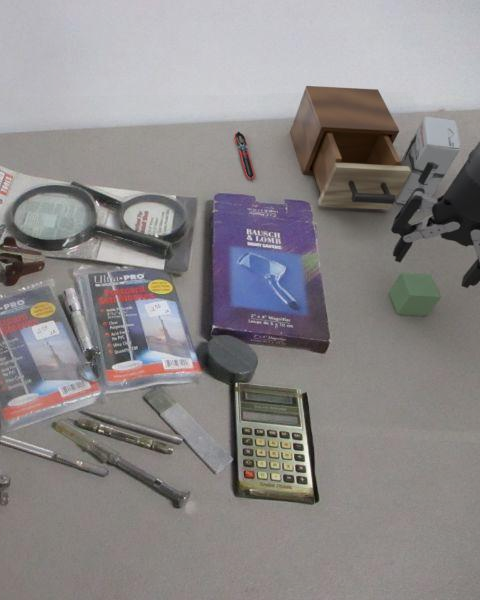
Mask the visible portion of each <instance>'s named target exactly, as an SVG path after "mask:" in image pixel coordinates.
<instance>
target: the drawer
mask: <svg viewBox="0 0 480 600" xmlns="http://www.w3.org/2000/svg"><path fill="white" fill-rule="evenodd" d="M400 163H401V158H400V157H399V155H398V153H397V151H396V148H395V146H394V143H393V144H392V142H391V140H390V138H389V136H388V134H371V133H351V132H332V131H325V132H324V134H323V137H322V139H321V142H320V144H319V147H318V149H317V152H316V154H315V157H314V159H313V162H312V164H311V166H312V169H313V172H314V175H313V176H314V178H315V181H316V184H317V187H318V189H319V193H320V195H319V198H318V201H317V202H318V205H319V207H330V208H331V207H333V208H334V207H336V208H351V209H354V208H355V209H371V210H372V209H373V210H390V209H391V208H392V206H393V205H394V204H395V202H396V201H395V199H396V197H397V195H398V194H399V192H400V190H401V188H402V186H403V185H404V183H405V181H406V179H407V178H408V176H409V174H410V172H411V170H410V168H409V166H399V165H400Z"/></svg>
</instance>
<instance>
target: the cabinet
mask: <svg viewBox="0 0 480 600" xmlns="http://www.w3.org/2000/svg"><path fill="white" fill-rule="evenodd" d="M325 131H332V132H351V133H371V134H388V136H389V138H390V140H391V142H392V144H393V145H394V142H395V141H396V139H397V137H398V134H399V133H400V129H399V127H398V126H397V123H396V121H395V120H394V118H393V116H392V114H391V111H390V110H389V108H388V106H387V103H386V102H385V100H384V98H383V96H382V94H381V92H380V91H379V89H377V88H374V89H372V88H359V87H358V88H355V87H338V86H317V85H313V86H312V85H306V86H305V88H304V91H303V93H302V97H301V100H300V102H299V105H298V108H297V111H296V114H295V117H294V119H293V122H292V125H291V129H290V131H289V135H290V137H291V140H292V144H293V147H294V150H295V154H296V157H297V159H298V160H297V161H298V163H299V166H300V170H301V173H302V175H306V176H307V175H308V176H315V175H314V172H313V169H312V166H311V164H312V162H313V159H314V157H315V154H316V152H317V149H318V147H319V144H320V142H321V139H322V137H323V134H324V132H325Z"/></svg>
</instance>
